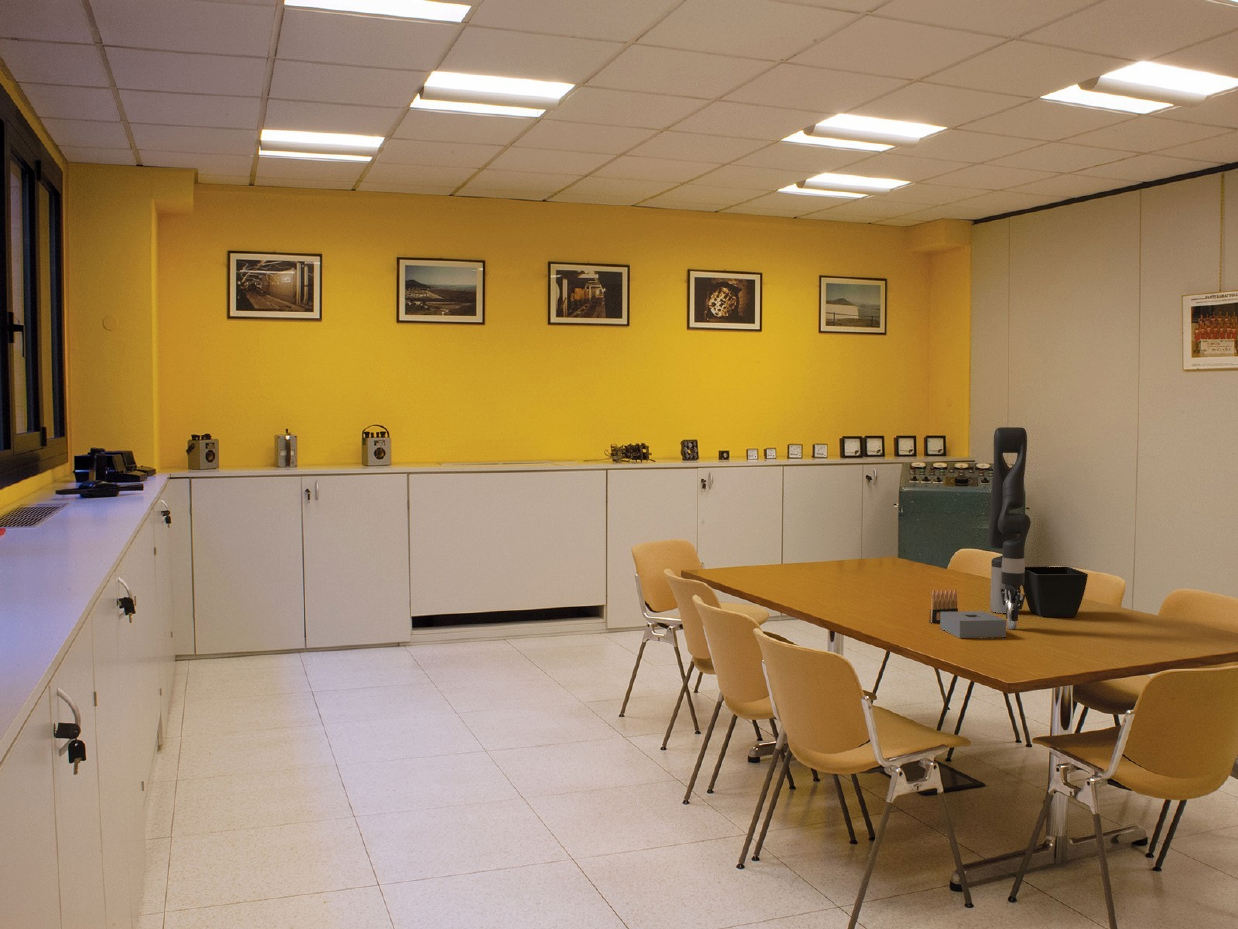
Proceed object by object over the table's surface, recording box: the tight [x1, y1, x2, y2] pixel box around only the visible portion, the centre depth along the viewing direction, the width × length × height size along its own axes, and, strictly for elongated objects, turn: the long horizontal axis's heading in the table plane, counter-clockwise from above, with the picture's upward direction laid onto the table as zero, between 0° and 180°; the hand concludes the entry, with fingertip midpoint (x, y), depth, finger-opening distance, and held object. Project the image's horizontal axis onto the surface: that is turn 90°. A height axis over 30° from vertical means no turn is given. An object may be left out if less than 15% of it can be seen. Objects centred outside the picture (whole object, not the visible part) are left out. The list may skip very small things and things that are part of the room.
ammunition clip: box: [928, 588, 959, 624], centre depth 368 cm, size 11×2×12 cm, turn 105°
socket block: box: [939, 610, 1007, 639], centre depth 350 cm, size 16×16×6 cm
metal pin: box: [1006, 600, 1018, 630], centre depth 357 cm, size 3×3×10 cm
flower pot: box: [1021, 566, 1089, 618], centre depth 385 cm, size 19×19×17 cm
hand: (1012, 619), depth 357 cm, fingers closed on metal pin, 3 cm apart
